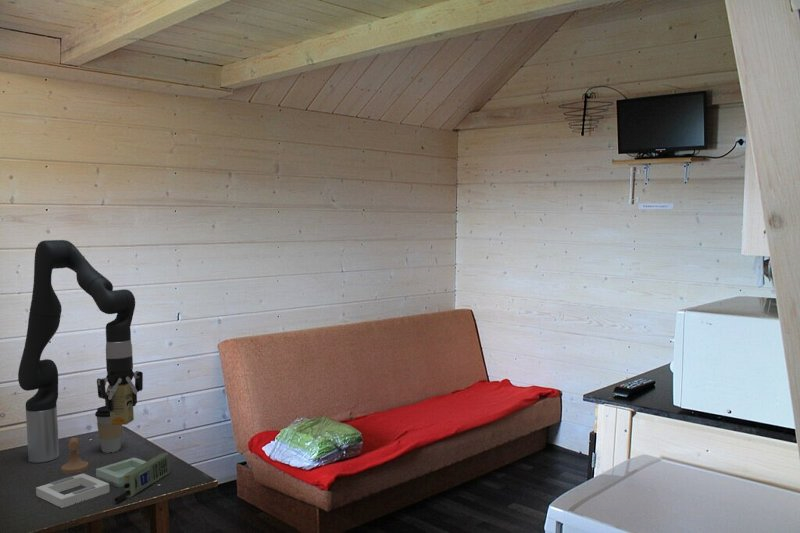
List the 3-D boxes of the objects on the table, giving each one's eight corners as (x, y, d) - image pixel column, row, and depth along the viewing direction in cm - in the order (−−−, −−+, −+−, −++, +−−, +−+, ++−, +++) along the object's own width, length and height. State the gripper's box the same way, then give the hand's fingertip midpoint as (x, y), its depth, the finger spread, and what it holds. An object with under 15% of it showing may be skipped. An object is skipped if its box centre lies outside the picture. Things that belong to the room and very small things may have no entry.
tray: (96, 478, 213) (95, 469, 213) (134, 466, 224) (134, 457, 224) (118, 487, 206) (118, 477, 205) (157, 474, 216) (157, 465, 216)
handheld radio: (171, 473, 217) (121, 504, 193) (162, 473, 218) (111, 504, 194) (170, 452, 217) (119, 481, 193) (160, 452, 218) (109, 481, 193)
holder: (36, 496, 200) (36, 486, 200) (83, 481, 211) (83, 472, 211) (61, 508, 191) (61, 498, 191) (109, 492, 202) (109, 482, 202)
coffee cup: (101, 446, 245) (99, 404, 244) (129, 445, 246) (127, 403, 245) (92, 455, 236) (90, 412, 235) (121, 453, 237) (119, 410, 236)
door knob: (59, 444, 217) (60, 437, 224) (60, 475, 217) (61, 467, 225) (87, 440, 220) (87, 434, 227) (88, 471, 220) (88, 463, 228)
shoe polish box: (133, 419, 215) (132, 381, 214) (126, 424, 210) (124, 385, 209) (118, 419, 215) (116, 381, 215) (110, 424, 211) (108, 385, 210)
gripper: (134, 350, 220) (136, 401, 221) (90, 357, 208) (92, 411, 209) (147, 352, 215) (149, 405, 216) (103, 360, 204) (105, 415, 205)
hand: (121, 408), depth 213 cm, fingers closed on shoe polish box, 7 cm apart
